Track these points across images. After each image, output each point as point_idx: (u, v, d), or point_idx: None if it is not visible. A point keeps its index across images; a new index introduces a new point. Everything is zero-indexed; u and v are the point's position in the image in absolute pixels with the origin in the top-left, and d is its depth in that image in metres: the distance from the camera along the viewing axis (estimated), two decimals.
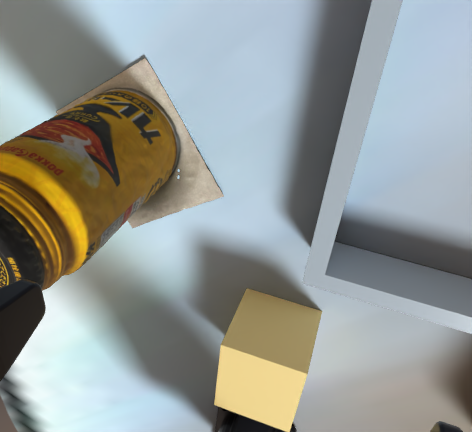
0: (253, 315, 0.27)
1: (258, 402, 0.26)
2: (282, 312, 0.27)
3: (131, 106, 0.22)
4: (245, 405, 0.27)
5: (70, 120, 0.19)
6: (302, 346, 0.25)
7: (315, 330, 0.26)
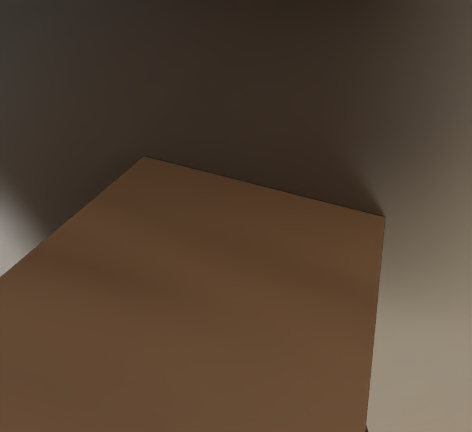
0: None
1: None
2: None
3: None
4: None
5: None
6: None
7: None
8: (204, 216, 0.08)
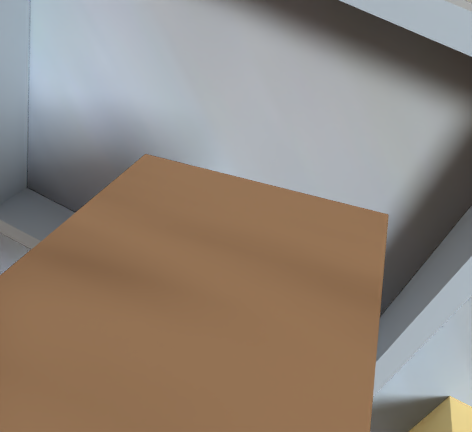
0: None
1: None
2: None
3: None
4: None
5: None
6: None
7: (450, 425, 0.22)
8: (205, 213, 0.08)
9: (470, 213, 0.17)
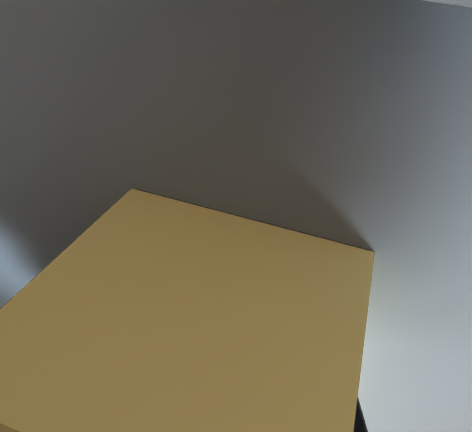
0: (122, 266, 0.07)
1: None
2: (235, 257, 0.08)
3: None
4: None
5: None
6: (308, 390, 0.06)
7: (358, 320, 0.07)
8: None
9: None
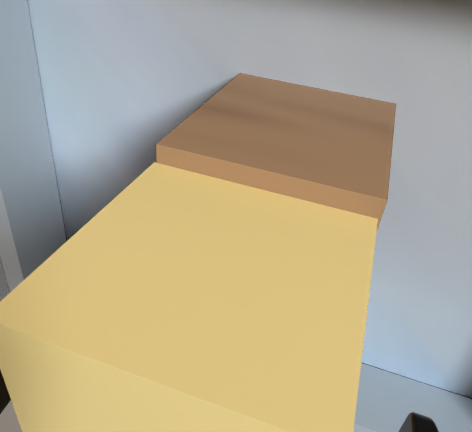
0: (152, 226, 0.08)
1: None
2: (252, 221, 0.08)
3: None
4: None
5: None
6: (321, 326, 0.06)
7: (364, 273, 0.07)
8: (288, 98, 0.13)
9: None
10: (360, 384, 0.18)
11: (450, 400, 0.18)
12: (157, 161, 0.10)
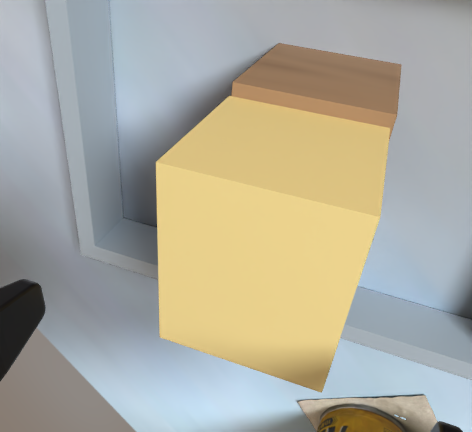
0: (240, 127, 0.12)
1: (252, 321, 0.12)
2: (305, 127, 0.12)
3: None
4: (223, 331, 0.12)
5: None
6: (358, 173, 0.10)
7: (382, 152, 0.11)
8: (319, 59, 0.17)
9: None
10: (370, 305, 0.22)
11: (445, 317, 0.22)
12: (232, 95, 0.14)
